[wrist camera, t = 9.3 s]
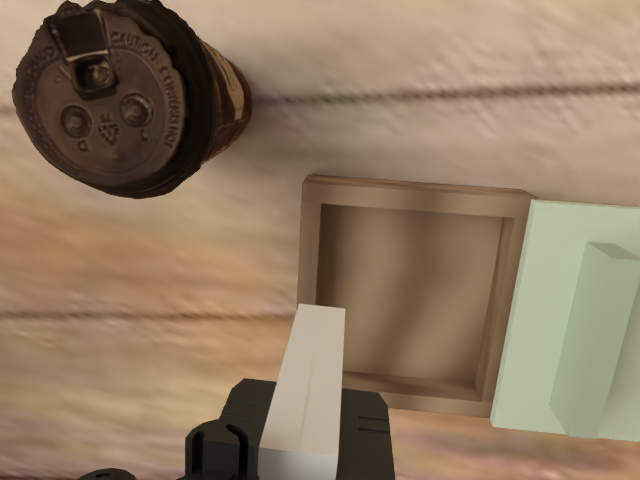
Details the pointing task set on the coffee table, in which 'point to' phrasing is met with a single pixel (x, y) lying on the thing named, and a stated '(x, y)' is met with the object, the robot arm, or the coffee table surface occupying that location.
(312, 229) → the box
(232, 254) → the coffee table surface
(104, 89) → the coffee cup
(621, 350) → the lid
